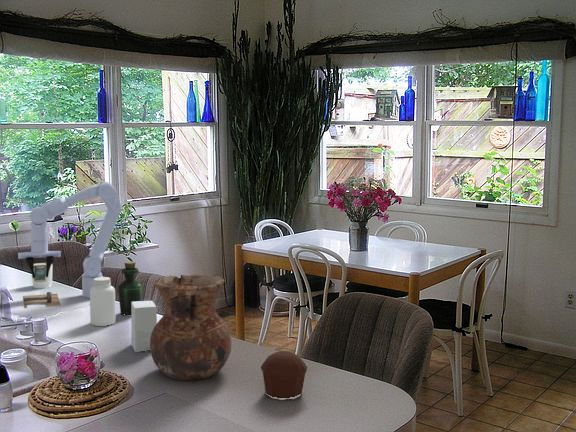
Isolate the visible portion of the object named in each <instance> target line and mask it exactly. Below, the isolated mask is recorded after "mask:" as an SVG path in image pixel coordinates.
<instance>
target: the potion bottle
mask: <svg viewBox="0 0 576 432" xmlns="http://www.w3.org/2000/svg"><path fill="white" fill-rule="evenodd" d="M123 264H124V268H122V269H121V272H120V273H121V274H123V275H124V278H125V279H124V281H122V282H120V283H119V285H118V286H117V290H118V299H119V300H118V301H119V309H120V310H119V311H120V314H121V315H122V314H125V315H131V302H135V301H142V295H143V294H142V290H143V285H142V283H141V282H139V281H137V280H136V279H135V277H136V274H138V273H139V272H140V271H139V269H138V267H136V261H133V260H132V261H124V263H123Z"/></svg>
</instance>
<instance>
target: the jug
mask: <svg viewBox="0 0 576 432" xmlns="http://www.w3.org/2000/svg"><path fill="white" fill-rule="evenodd" d="M224 283H225V278H224V277H222V276H220V275H213V274H212V275H210V274H191V275H187V274H186V275H185V274H181V275H180V277H178V276H176V275H175V276H174V275H173V276H172V275H167V276H164V277H163V278H162V279H160V280H159V281H157V282H155V283H154V286H155V288H156V290H158V291H159V293H160V295H161V297H162V299H163V302H164V308H165V311H164V314H163V316H162V317H161V318H160V319H159V321H158V320H157V321H158V322H157V324H156V325H155V327H154V329H153V331H152V333H151V338H150V351H149V352H150V355H151V357H152V361H153V362H154V364H155V366H156V367H157V368H158V370H159V371H160V372H162V374H164V375H165V376H167V377H169V378H170V379H173V378H174V379H173V380H177V379H179V380H178V381H195V380H194V379H197V380H202V379H207V378H206V377H208V378H210V376H211V377H213V376H215V375H216V374H217V373H219V372H220V370H222V369H223V367H224V366H225V365H226V363H227V361H228V359H229V357H230V354H231V351H232V347H233V345H232V344H233V343H232V342H233V341H232V336H231V332H230V329H229V327H228V325H227V323H226V321H224V319H223V318H222V317H221V316H220V315H219V314H218V313H217V311H216V301H217V296H218V294H219V291H220V289H222V286H223V285H224ZM212 375H213V376H212ZM201 378H202V379H201Z"/></svg>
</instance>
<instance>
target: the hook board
mask: <svg viewBox="0 0 576 432" xmlns="http://www.w3.org/2000/svg"><path fill="white" fill-rule="evenodd" d="M22 301H23V308H24V309H28V305H38V304H39V305H40V304H44V306H45V307H47V308H49V307H60V306H62V304H61V301H60V298H59V295H58V293H52V291H47V292H46V294H33V295H32V294H31V295H22Z"/></svg>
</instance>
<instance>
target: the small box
mask: <svg viewBox="0 0 576 432" xmlns="http://www.w3.org/2000/svg"><path fill="white" fill-rule="evenodd" d="M157 308H158V307H157V306H156V303H154V300H141V301H135V302H131V316H130V317H131V320H130V321H131V323H130V324H131V331H130V332H131V338H130V339H131V343H130V344H131V347H132V348H133V351H134V353H140V352H139V351H145V352H148V351H147V350H150V338H151V333H152V331H153V329H154V327H155V325H156V324H157V323H158V322H157V321H158V320H157V319H158V318H157V314H158V313H157V312H158V311H157V310H158V309H157Z"/></svg>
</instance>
